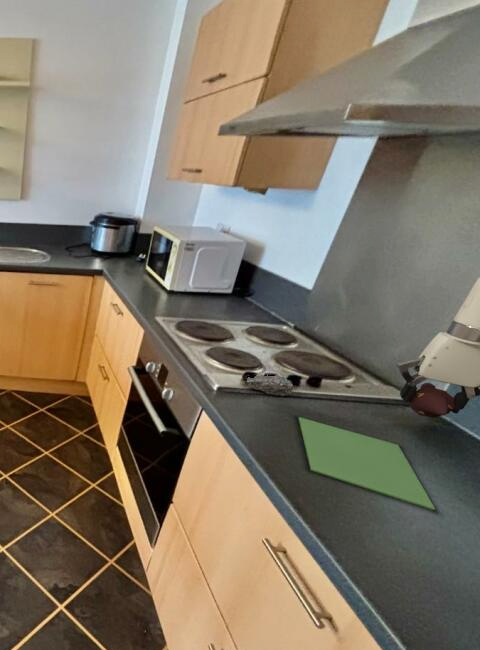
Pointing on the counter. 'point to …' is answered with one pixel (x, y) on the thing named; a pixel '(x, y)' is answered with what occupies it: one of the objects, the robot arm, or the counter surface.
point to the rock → (271, 384)
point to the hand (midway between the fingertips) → (428, 404)
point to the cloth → (362, 462)
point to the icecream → (431, 401)
